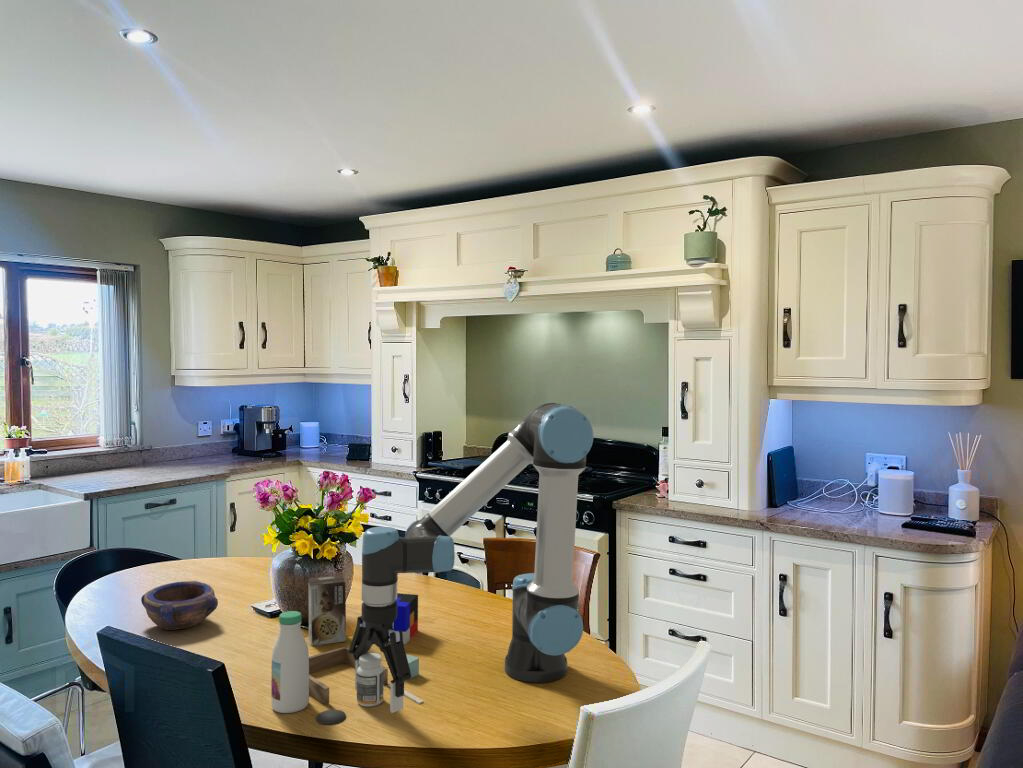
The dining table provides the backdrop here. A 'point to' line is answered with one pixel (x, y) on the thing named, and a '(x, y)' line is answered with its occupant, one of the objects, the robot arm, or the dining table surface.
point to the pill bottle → (369, 680)
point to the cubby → (328, 660)
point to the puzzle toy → (406, 615)
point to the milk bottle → (290, 666)
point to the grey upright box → (327, 610)
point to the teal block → (413, 665)
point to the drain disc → (330, 717)
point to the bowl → (179, 604)
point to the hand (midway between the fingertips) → (378, 699)
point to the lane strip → (411, 696)
